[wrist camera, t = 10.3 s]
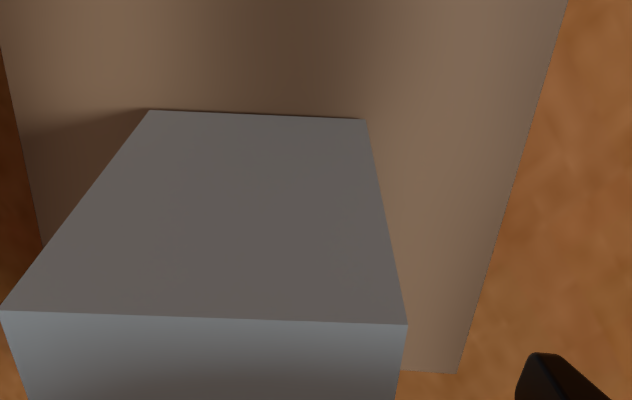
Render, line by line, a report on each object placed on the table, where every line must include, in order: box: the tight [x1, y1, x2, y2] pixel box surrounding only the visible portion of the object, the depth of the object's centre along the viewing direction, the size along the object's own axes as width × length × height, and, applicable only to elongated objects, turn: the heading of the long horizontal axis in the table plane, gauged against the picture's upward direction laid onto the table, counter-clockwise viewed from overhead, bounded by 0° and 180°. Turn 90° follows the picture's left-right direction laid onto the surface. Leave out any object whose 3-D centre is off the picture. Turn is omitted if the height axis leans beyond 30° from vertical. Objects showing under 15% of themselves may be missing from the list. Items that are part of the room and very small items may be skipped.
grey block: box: [0, 110, 408, 400], centre depth 9 cm, size 4×4×6 cm
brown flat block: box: [0, 0, 568, 374], centre depth 13 cm, size 11×10×3 cm
